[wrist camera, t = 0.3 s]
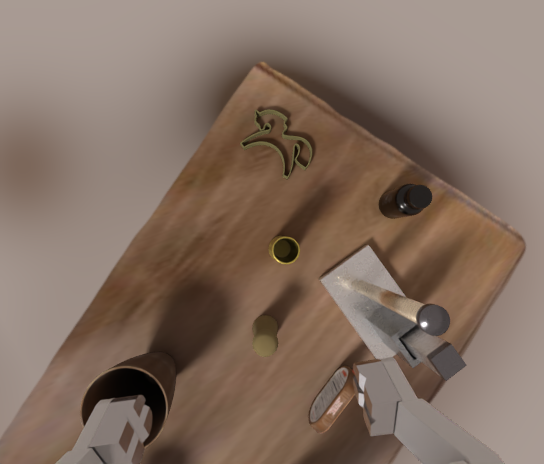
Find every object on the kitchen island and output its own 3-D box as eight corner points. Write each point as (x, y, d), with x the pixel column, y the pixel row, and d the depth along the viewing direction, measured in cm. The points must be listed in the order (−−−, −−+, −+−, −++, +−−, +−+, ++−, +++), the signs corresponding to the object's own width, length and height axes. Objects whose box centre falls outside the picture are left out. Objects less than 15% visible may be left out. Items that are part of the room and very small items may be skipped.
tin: (313, 417, 63) (321, 444, 54) (303, 409, 63) (309, 435, 54) (352, 365, 63) (366, 384, 55) (342, 357, 63) (354, 375, 55)
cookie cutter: (233, 142, 65) (232, 139, 63) (262, 103, 66) (262, 99, 64) (293, 186, 65) (294, 184, 63) (322, 147, 66) (323, 144, 64)
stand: (424, 326, 64) (552, 394, 35) (377, 361, 64) (469, 459, 35) (365, 244, 65) (445, 246, 36) (318, 278, 64) (361, 308, 35)
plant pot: (145, 323, 63) (105, 351, 47) (203, 351, 63) (182, 389, 47) (116, 382, 62) (64, 431, 46) (174, 411, 62) (142, 469, 46)
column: (401, 325, 62) (467, 365, 41) (386, 335, 61) (446, 381, 41) (390, 310, 62) (451, 343, 41) (375, 320, 61) (429, 359, 41)
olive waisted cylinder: (273, 311, 63) (275, 326, 52) (281, 336, 63) (284, 355, 52) (249, 319, 63) (245, 336, 52) (257, 344, 63) (255, 366, 52)
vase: (266, 238, 64) (266, 237, 50) (291, 233, 64) (299, 231, 50) (271, 263, 64) (272, 269, 50) (296, 258, 64) (305, 263, 50)
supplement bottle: (388, 224, 65) (416, 220, 53) (372, 201, 65) (396, 192, 53) (411, 208, 65) (444, 201, 53) (395, 185, 65) (424, 172, 53)
